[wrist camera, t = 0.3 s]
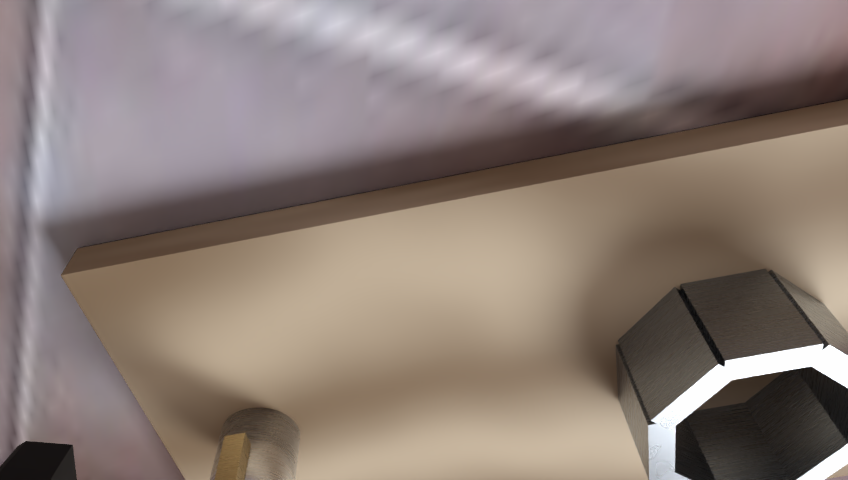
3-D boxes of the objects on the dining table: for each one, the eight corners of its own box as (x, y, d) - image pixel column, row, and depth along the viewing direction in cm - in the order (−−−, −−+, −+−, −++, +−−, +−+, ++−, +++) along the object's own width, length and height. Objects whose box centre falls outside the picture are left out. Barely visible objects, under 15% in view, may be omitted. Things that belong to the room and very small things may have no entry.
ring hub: (808, 406, 22) (862, 486, 20) (619, 438, 23) (649, 520, 20) (834, 255, 19) (903, 329, 17) (613, 295, 19) (647, 374, 17)
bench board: (834, 446, 25) (853, 474, 24) (247, 543, 27) (242, 573, 26) (912, 86, 18) (943, 105, 17) (77, 248, 19) (60, 275, 18)
